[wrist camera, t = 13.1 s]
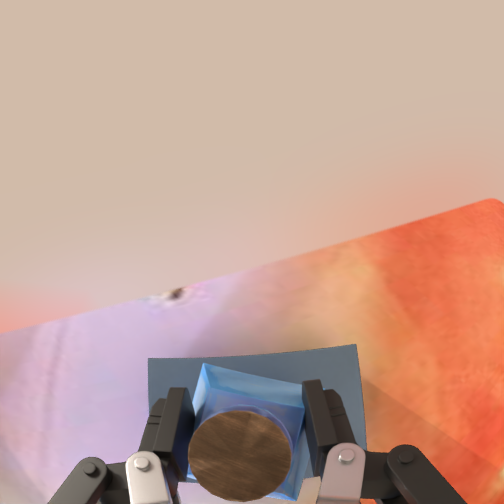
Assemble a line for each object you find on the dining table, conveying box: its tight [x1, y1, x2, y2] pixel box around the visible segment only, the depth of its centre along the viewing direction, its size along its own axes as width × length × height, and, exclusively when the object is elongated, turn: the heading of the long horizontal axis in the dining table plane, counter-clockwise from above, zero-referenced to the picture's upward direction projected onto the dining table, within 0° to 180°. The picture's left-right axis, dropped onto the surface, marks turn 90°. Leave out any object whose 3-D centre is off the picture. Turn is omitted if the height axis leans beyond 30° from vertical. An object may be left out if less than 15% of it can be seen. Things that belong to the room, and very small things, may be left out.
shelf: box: [148, 344, 367, 483], centre depth 23 cm, size 16×10×8 cm, turn 94°
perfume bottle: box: [187, 363, 325, 502], centre depth 13 cm, size 6×6×12 cm
